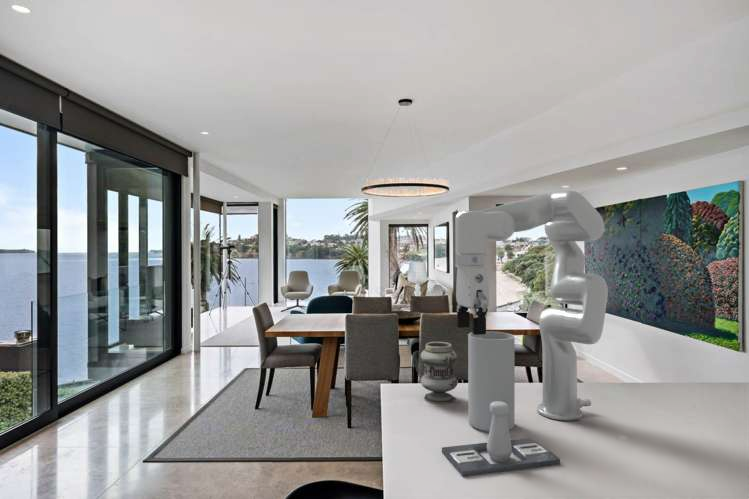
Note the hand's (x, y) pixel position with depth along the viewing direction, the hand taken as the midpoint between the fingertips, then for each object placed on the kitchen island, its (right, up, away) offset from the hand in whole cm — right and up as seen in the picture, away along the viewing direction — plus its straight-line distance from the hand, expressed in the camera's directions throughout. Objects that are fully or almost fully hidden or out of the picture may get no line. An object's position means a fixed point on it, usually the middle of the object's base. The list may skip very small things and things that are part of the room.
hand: (470, 330), depth 111 cm
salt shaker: (+5, -29, -6) cm, 30 cm away
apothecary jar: (-3, -29, +37) cm, 47 cm away
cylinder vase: (+9, -29, +15) cm, 34 cm away
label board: (+5, -29, -6) cm, 30 cm away
